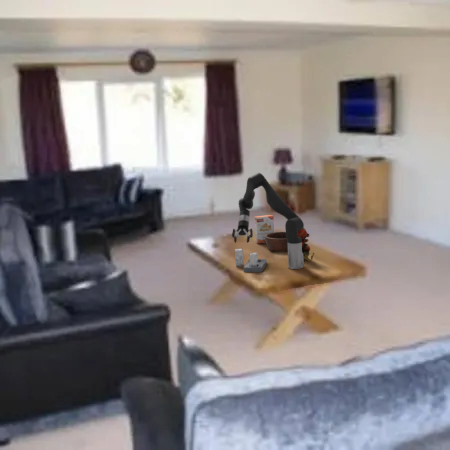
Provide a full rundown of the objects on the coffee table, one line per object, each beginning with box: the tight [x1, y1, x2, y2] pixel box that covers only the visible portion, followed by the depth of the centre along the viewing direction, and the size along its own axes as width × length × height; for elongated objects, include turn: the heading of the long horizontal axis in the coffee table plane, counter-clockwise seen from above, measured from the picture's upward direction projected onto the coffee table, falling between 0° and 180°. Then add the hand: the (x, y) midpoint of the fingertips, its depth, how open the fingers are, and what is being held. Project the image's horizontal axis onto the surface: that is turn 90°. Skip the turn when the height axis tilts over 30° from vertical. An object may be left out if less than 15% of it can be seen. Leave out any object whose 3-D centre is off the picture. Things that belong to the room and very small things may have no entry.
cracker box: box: [254, 214, 275, 244], centre depth 518 cm, size 14×6×21 cm, turn 105°
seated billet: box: [249, 252, 259, 267], centre depth 442 cm, size 4×4×11 cm
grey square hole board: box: [243, 258, 268, 273], centre depth 448 cm, size 22×12×3 cm, turn 168°
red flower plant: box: [297, 227, 315, 262], centre depth 459 cm, size 15×17×25 cm
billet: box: [234, 248, 244, 267], centre depth 455 cm, size 4×4×11 cm
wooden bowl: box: [265, 231, 288, 252], centre depth 496 cm, size 25×25×10 cm
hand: (241, 242), depth 463 cm, fingers open, 8 cm apart
